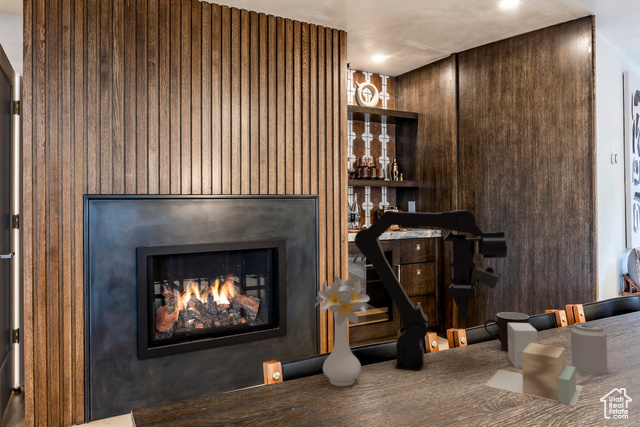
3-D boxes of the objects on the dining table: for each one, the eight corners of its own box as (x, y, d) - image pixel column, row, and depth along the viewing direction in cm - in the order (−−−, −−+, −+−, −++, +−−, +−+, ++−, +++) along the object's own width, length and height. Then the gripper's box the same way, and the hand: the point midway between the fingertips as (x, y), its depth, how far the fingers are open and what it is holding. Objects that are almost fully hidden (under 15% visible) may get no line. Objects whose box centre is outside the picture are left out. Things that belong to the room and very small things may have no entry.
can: (602, 369, 111) (601, 321, 111) (611, 380, 104) (610, 329, 104) (569, 366, 114) (568, 320, 114) (575, 377, 107) (574, 327, 106)
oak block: (522, 393, 96) (522, 351, 96) (531, 381, 102) (530, 342, 102) (558, 400, 91) (558, 357, 91) (565, 388, 98) (564, 347, 98)
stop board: (558, 401, 91) (558, 377, 91) (565, 387, 98) (565, 365, 98) (569, 404, 90) (569, 380, 90) (576, 389, 97) (575, 366, 97)
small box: (538, 372, 110) (538, 330, 110) (514, 371, 111) (514, 330, 111) (530, 361, 118) (529, 322, 117) (508, 360, 119) (507, 322, 119)
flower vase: (329, 402, 96) (327, 287, 95) (309, 372, 113) (307, 275, 113) (385, 394, 99) (382, 283, 99) (356, 366, 117) (354, 272, 117)
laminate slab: (484, 389, 100) (484, 385, 100) (499, 373, 110) (499, 369, 110) (575, 410, 89) (575, 405, 89) (583, 390, 99) (583, 386, 99)
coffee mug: (531, 348, 129) (531, 314, 129) (527, 356, 122) (526, 320, 122) (489, 342, 135) (489, 309, 135) (483, 350, 128) (483, 316, 128)
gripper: (497, 263, 102) (499, 330, 102) (495, 255, 119) (497, 312, 119) (447, 262, 106) (449, 327, 106) (453, 254, 123) (454, 309, 123)
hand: (464, 318), depth 113 cm, fingers closed
